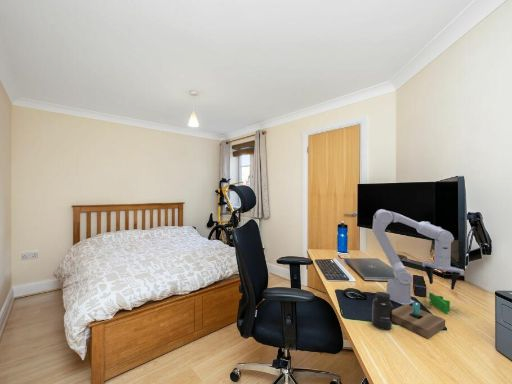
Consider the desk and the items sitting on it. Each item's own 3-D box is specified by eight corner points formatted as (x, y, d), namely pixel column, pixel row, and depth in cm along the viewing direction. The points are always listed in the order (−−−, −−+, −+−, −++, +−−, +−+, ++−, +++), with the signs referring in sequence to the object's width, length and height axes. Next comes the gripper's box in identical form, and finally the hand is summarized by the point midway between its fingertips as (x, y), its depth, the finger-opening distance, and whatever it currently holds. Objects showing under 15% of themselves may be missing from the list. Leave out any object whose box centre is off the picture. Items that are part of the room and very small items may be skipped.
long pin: (410, 322, 92) (411, 302, 92) (414, 321, 93) (414, 301, 93) (417, 325, 90) (417, 305, 90) (420, 324, 91) (421, 303, 91)
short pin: (422, 306, 105) (423, 297, 105) (425, 305, 106) (425, 296, 106) (429, 309, 103) (429, 300, 103) (431, 307, 104) (431, 298, 104)
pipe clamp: (454, 315, 99) (454, 304, 98) (444, 314, 99) (445, 304, 99) (437, 302, 110) (437, 292, 110) (428, 301, 110) (429, 292, 110)
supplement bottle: (384, 332, 85) (385, 299, 85) (368, 322, 91) (368, 292, 91) (396, 327, 89) (396, 296, 88) (379, 318, 95) (379, 289, 95)
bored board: (387, 319, 94) (388, 312, 94) (406, 310, 101) (406, 303, 101) (427, 338, 82) (427, 330, 82) (445, 327, 89) (445, 319, 89)
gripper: (420, 254, 108) (420, 283, 108) (462, 261, 97) (461, 294, 97) (424, 251, 113) (424, 279, 113) (464, 258, 102) (464, 289, 102)
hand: (441, 286), depth 105 cm, fingers open, 7 cm apart
